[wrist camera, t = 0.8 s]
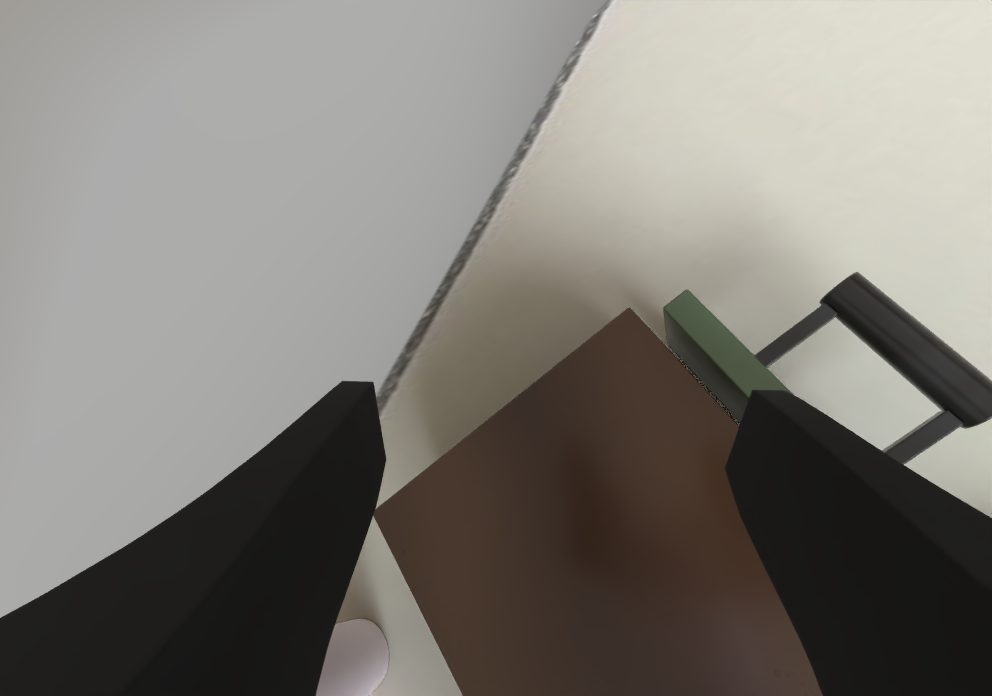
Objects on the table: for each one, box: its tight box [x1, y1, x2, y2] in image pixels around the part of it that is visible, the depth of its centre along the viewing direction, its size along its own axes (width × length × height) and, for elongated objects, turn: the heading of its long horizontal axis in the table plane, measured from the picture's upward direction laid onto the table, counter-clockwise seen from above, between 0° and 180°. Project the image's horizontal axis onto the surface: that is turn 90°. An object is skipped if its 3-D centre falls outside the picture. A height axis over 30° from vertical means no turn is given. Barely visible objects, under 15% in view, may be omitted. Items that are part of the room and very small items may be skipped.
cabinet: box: [373, 307, 823, 696], centre depth 20 cm, size 14×14×8 cm
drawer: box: [663, 272, 992, 465], centre depth 19 cm, size 18×12×6 cm
